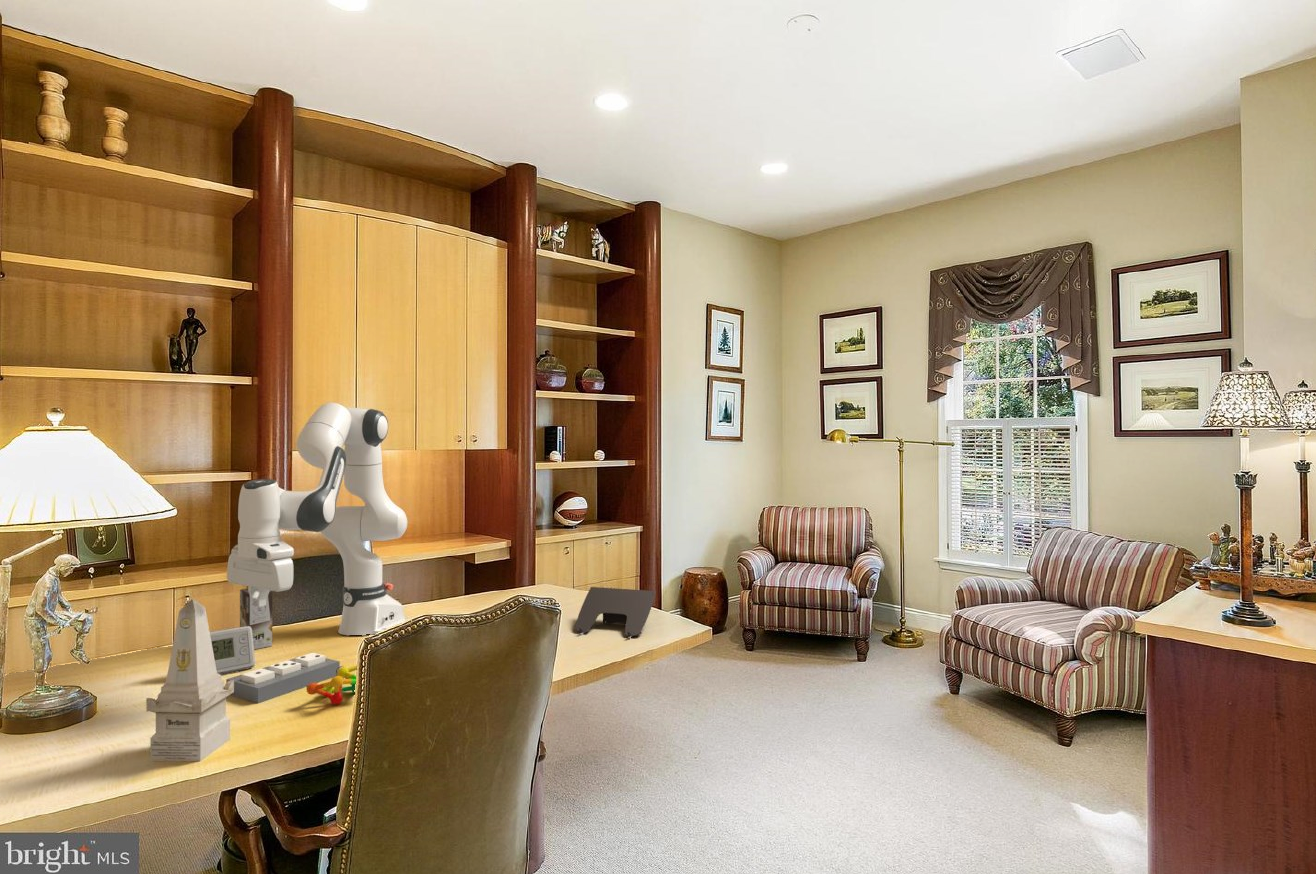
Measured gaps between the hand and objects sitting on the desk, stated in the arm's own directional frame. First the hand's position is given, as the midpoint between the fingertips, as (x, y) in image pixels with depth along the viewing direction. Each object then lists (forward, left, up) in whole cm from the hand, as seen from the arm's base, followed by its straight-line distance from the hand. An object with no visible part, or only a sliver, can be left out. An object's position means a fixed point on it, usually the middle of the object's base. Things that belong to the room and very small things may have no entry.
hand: (258, 605), depth 171 cm
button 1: (0, 0, -19) cm, 19 cm away
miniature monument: (+25, +17, -21) cm, 37 cm away
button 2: (-7, 0, -19) cm, 20 cm away
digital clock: (-4, -22, -21) cm, 31 cm away
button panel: (-7, 0, -21) cm, 22 cm away
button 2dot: (-14, 0, -19) cm, 24 cm away
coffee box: (-23, -36, -21) cm, 48 cm away
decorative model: (-8, +20, -21) cm, 30 cm away
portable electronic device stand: (-90, +45, -22) cm, 103 cm away
